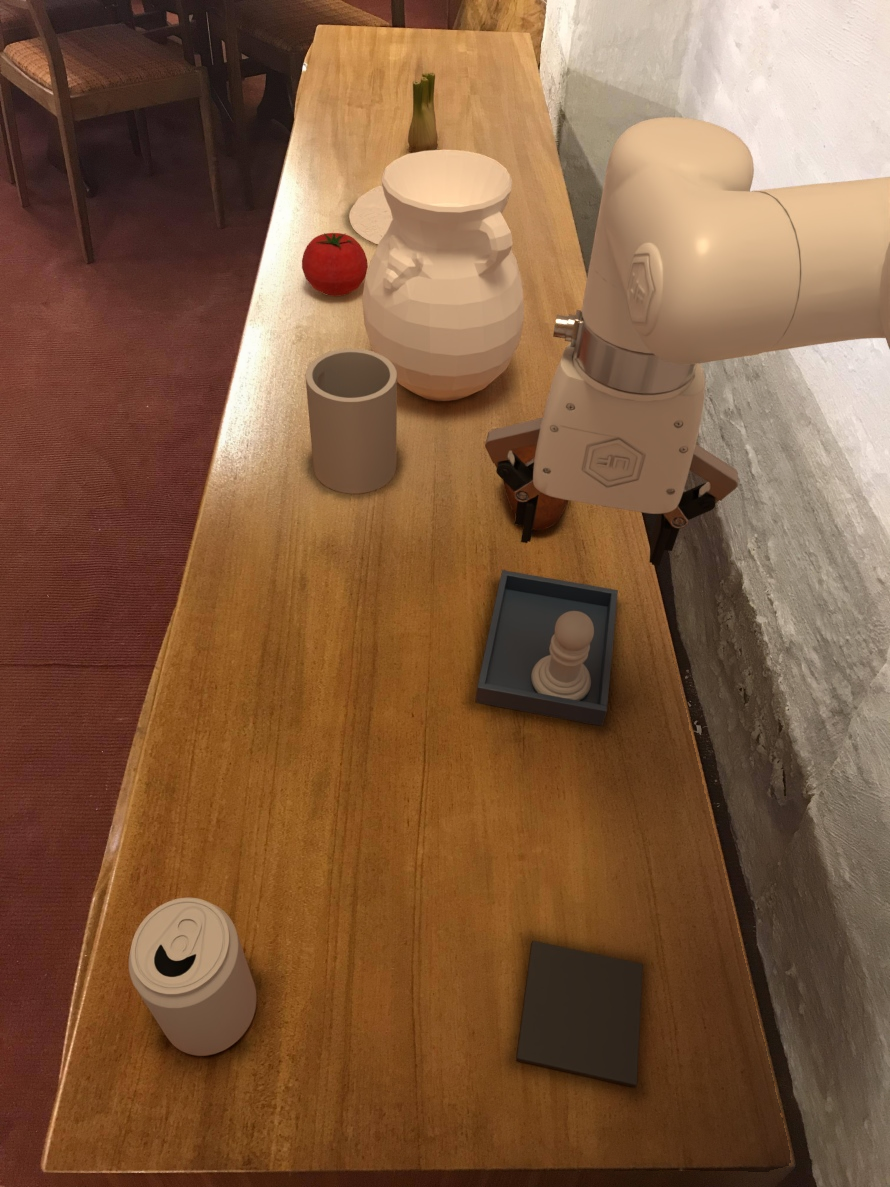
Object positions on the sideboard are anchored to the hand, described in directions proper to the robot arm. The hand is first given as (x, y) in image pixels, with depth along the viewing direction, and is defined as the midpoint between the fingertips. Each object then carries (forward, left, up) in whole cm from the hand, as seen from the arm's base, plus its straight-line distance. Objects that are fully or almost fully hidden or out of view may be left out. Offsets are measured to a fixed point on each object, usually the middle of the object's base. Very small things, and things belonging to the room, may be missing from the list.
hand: (590, 541), depth 68 cm
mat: (-28, -5, -18) cm, 34 cm away
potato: (+23, +5, -18) cm, 30 cm away
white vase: (+42, +19, -18) cm, 50 cm away
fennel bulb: (+106, +35, -18) cm, 113 cm away
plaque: (+82, +31, -18) cm, 90 cm away
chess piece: (0, 0, -18) cm, 18 cm away
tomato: (+59, +37, -18) cm, 72 cm away
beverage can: (-33, +20, -18) cm, 43 cm away
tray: (+3, +1, -18) cm, 18 cm away
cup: (+24, +25, -18) cm, 39 cm away
